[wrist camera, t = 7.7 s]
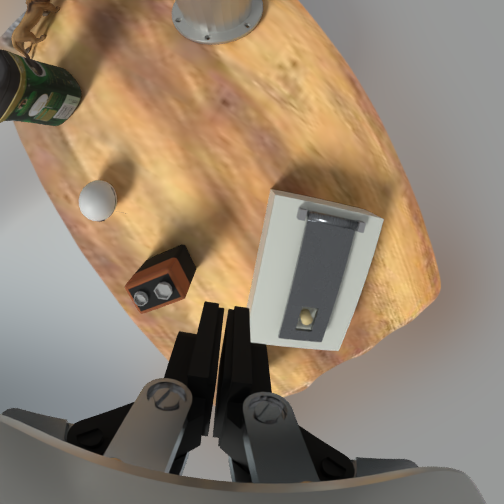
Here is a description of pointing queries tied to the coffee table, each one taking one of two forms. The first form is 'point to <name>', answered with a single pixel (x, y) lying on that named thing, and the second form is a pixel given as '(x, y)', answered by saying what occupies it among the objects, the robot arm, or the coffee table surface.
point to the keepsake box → (284, 262)
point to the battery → (162, 280)
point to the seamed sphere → (98, 200)
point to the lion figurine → (31, 24)
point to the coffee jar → (35, 91)
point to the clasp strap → (317, 274)
